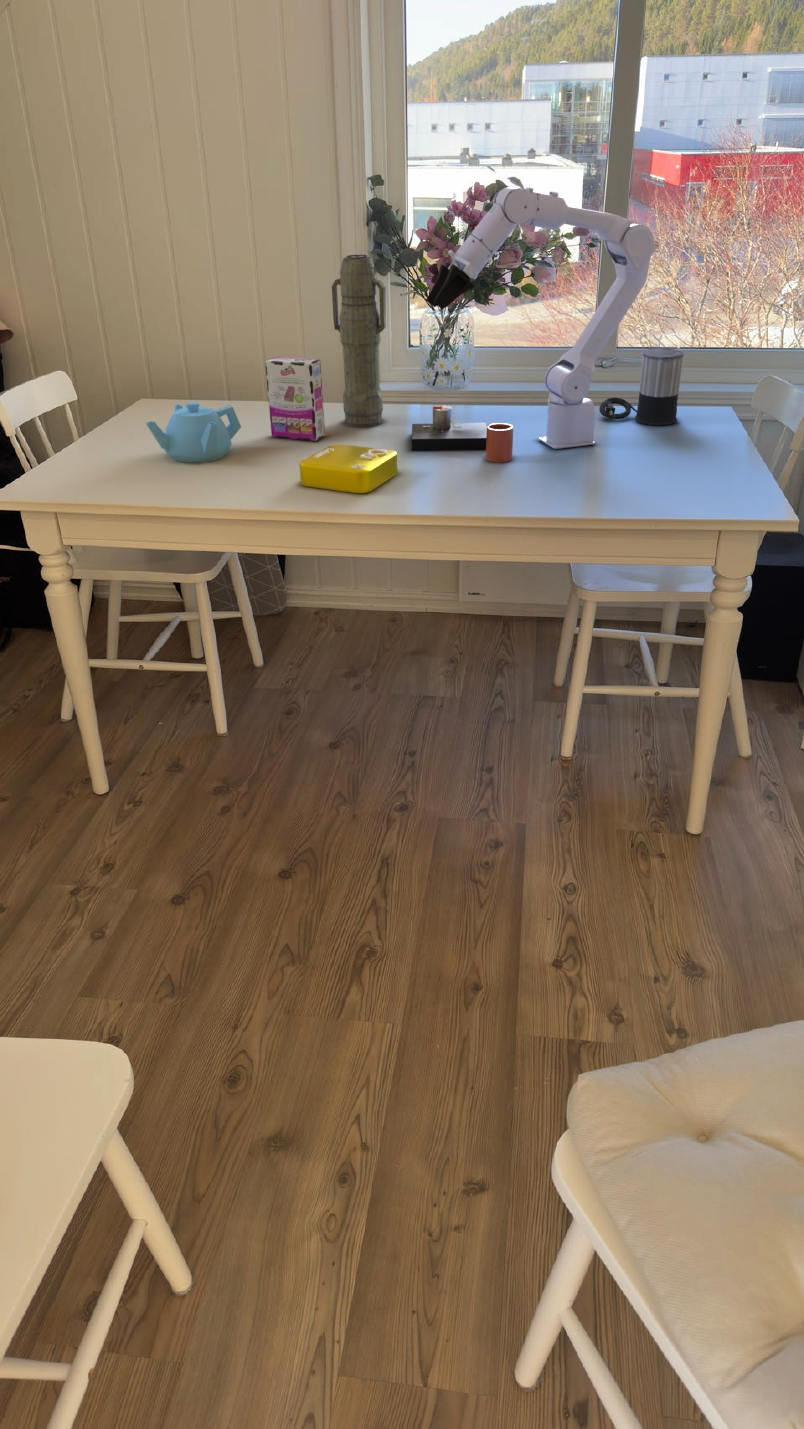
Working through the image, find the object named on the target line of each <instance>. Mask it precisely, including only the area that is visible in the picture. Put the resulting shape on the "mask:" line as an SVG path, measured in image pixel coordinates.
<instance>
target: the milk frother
mask: <svg viewBox="0 0 804 1429" xmlns="http://www.w3.org/2000/svg"><path fill="white" fill-rule="evenodd" d="M641 355H642V360H641V371H640V383H639V392H638V401H637V409H636V408H635V407H634V406H633V405H632V404H631V403H630V402H629V401H627V400H625V399H624V398H621V397H609V398H607V399H605V400H603V401H602V402H601V403H600V405H599V410H598V411H599V413H600V414H601V416H603V417H605V418H607V419H613V420H622V419H626V418H628V416H630V414H631V412H632V410H633V411H634V412H635V413H636V415H635V417H634V420H635V421H636V422H637V423H642V424H644V425H650V426H667V425H672V424H675V423H676V422H677V421H678V418H677V414H678V400H679V392H680V386H681V384H680V383H681V376H682V368H683V360H684V359H683V358H684V356H685V352H683V351H682V350H679V349H674V348H668V347H667V348H666V347H665V348H659V347H658V348H648V349H645V350H642V351H641ZM614 405H620V406H622V407H623V408H624V409H625V411H623V412H621V413H616V407H614Z"/></svg>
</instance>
